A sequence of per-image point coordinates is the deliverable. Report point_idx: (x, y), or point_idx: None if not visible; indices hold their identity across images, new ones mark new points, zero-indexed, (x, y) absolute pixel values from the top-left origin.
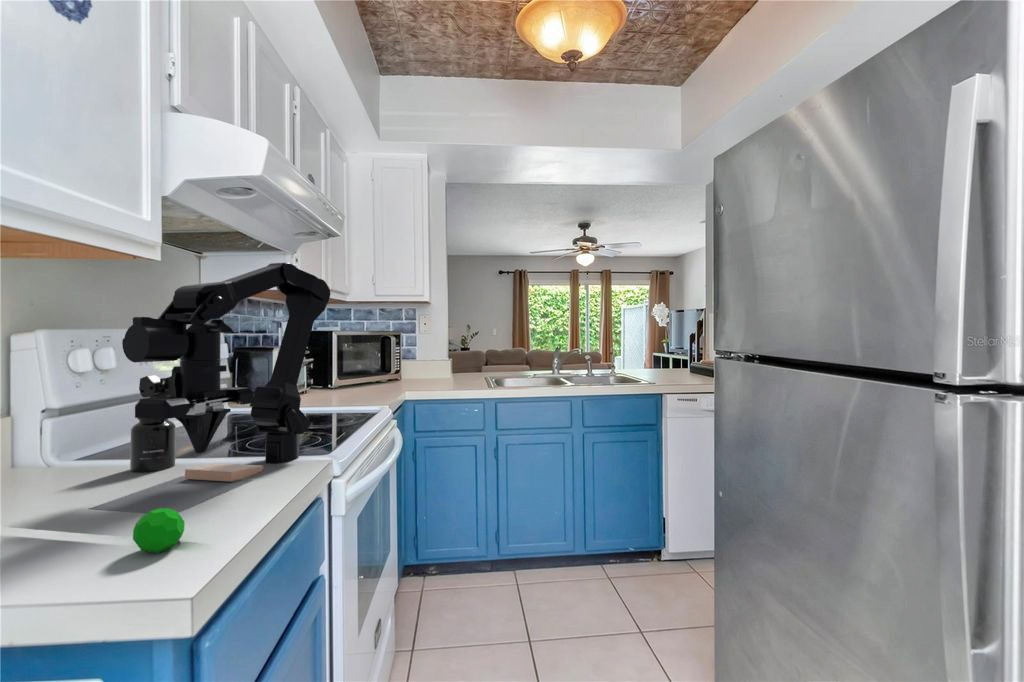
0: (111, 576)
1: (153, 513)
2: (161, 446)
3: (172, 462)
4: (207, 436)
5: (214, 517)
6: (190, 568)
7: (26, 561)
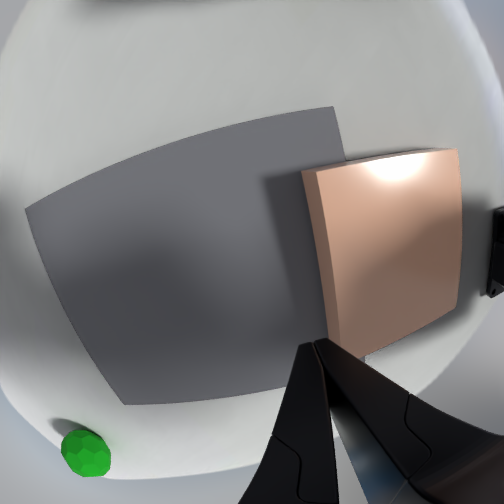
0: (57, 432)
1: (73, 471)
2: None
3: None
4: (345, 447)
5: (178, 432)
6: None
7: None
